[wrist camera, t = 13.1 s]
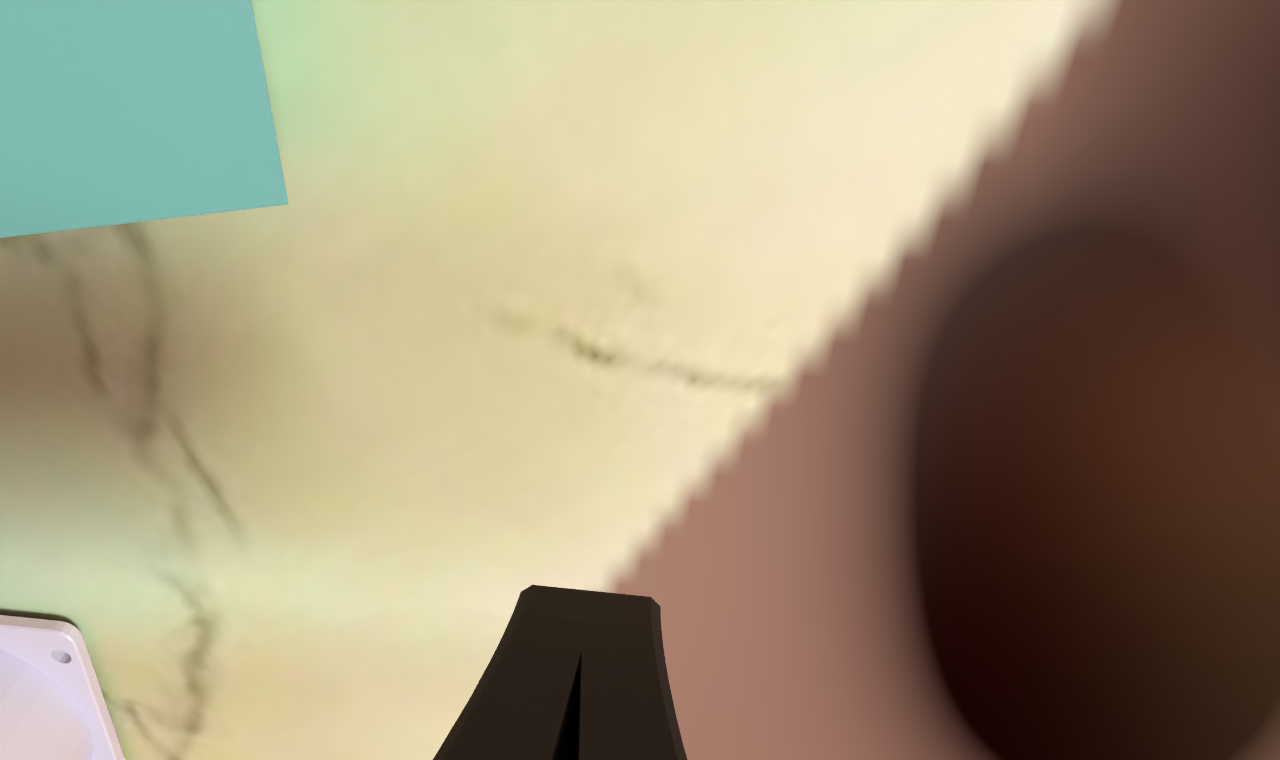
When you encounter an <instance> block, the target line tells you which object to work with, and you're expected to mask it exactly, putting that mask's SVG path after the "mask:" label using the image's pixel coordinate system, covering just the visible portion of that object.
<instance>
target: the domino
mask: <svg viewBox="0 0 1280 760" xmlns="http://www.w3.org/2000/svg"><path fill="white" fill-rule="evenodd" d="M279 205H288V199H287V194H286V188H285V183H284V177H283V172H282V166H281V161H280V155H279V150H278V144H277V139H276V134H275V128H274V123H273V117H272V112H271V106H270V101H269V95H268V90H267V84H266V79H265V74H264V68H263V63H262V57H261V52H260V46H259V41H258V35H257V30H256V24H255V19H254V13H253V8H252V3H251V0H0V238H4V237H13V236H21V235H30V234H38V233H47V232H56V231H64V230H73V229H81V228H90V227H99V226H107V225H116V224H124V223H133V222H142V221H150V220H159V219H167V218H176V217H184V216H193V215H202V214H210V213H219V212H227V211H236V210H245V209H253V208H262V207H270V206H279Z"/></svg>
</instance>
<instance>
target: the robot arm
mask: <svg viewBox="0 0 1280 760" xmlns="http://www.w3.org/2000/svg"><path fill="white" fill-rule="evenodd" d="M0 760H125V758H124V755H123V752H122V750H121V747H120V744H119V741H118V738H117V735H116V732H115V729H114V726H113V723H112V720H111V718H110V715H109V712H108V709H107V706H106V703H105V700H104V697H103V694H102V691H101V688H100V686H99V683H98V680H97V677H96V674H95V671H94V668H93V665H92V662H91V659H90V656H89V654H88V651H87V648H86V645H85V642H84V639H83V636H82V634H81V633H80V631H79V630H78V629H77V628H76V627H75V626H73V625H71V624H69V623H67V622H63V621H55V620H45V619H36V618H26V617H16V616H6V615H0ZM433 760H687V757H686V754H685V750H684V747H683V743H682V739H681V735H680V731H679V726H678V723H677V718H676V714H675V709H674V704H673V700H672V695H671V690H670V685H669V681H668V675H667V669H666V663H665V656H664V649H663V641H662V631H661V618H660V606H659V605H658V604H657V603H656V602H655V601H654V600H653V599H652V598H651V597H645V596H635V595H625V594H616V593H606V592H596V591H586V590H577V589H567V588H557V587H547V586H538V585H532V586H530V587H528V588H527V589H525V590H523V591H522V592H521V593H520V596H519V599H518V601H517V604H516V607H515V609H514V612H513V614H512V617H511V619H510V621H509V623H508V626H507V628H506V630H505V632H504V634H503V637H502V639H501V641H500V643H499V645H498V647H497V649H496V651H495V653H494V655H493V657H492V659H491V661H490V663H489V664H488V666H487V668H486V670H485V672H484V674H483V676H482V677H481V679H480V681H479V683H478V685H477V687H476V688H475V690H474V692H473V694H472V696H471V697H470V699H469V701H468V703H467V704H466V706H465V708H464V709H463V711H462V713H461V714H460V716H459V718H458V719H457V721H456V722H455V724H454V726H453V727H452V729H451V731H450V732H449V734H448V736H447V737H446V739H445V741H444V742H443V744H442V746H441V747H440V749H439V751H438V752H437V754H436V756H435V757H434V759H433Z"/></svg>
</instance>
